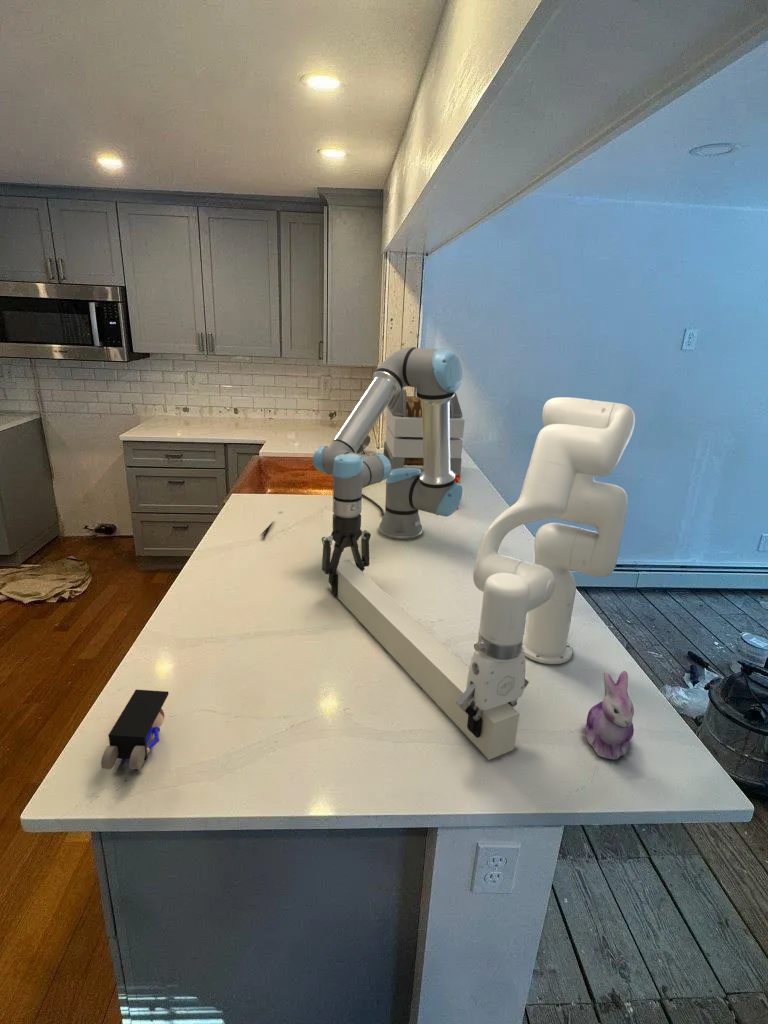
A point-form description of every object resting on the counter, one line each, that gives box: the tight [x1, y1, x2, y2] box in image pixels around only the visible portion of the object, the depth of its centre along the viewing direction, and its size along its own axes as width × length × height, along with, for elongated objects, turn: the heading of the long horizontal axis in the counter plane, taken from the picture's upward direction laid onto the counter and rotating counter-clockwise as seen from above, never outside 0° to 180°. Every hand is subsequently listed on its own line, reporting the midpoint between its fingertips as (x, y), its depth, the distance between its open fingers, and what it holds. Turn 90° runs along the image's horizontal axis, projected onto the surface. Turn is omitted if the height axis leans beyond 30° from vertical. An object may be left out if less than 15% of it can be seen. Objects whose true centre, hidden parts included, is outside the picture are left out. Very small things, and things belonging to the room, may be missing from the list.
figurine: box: [584, 670, 635, 760], centre depth 103 cm, size 9×10×15 cm
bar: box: [329, 559, 520, 761], centre depth 130 cm, size 71×6×8 cm, turn 29°
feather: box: [260, 520, 275, 540], centre depth 202 cm, size 2×28×2 cm
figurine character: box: [100, 689, 169, 774], centre depth 98 cm, size 7×8×15 cm
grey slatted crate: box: [383, 388, 465, 476], centre depth 268 cm, size 34×33×41 cm
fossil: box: [356, 434, 371, 455], centre depth 304 cm, size 22×10×15 cm
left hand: (345, 592), depth 157 cm, fingers closed on bar, 6 cm apart
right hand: (489, 726), depth 104 cm, fingers open, 6 cm apart
